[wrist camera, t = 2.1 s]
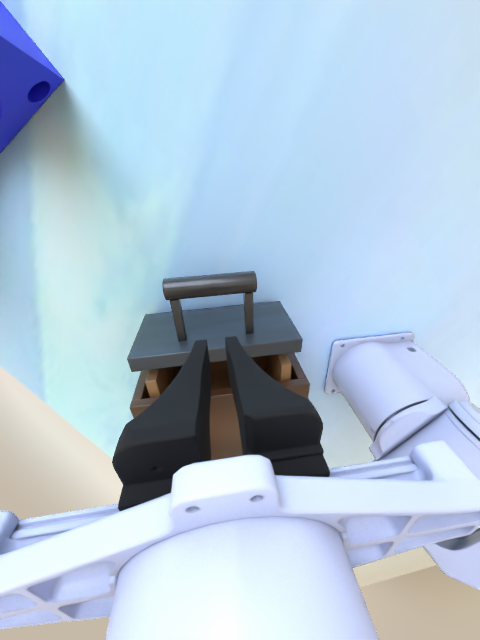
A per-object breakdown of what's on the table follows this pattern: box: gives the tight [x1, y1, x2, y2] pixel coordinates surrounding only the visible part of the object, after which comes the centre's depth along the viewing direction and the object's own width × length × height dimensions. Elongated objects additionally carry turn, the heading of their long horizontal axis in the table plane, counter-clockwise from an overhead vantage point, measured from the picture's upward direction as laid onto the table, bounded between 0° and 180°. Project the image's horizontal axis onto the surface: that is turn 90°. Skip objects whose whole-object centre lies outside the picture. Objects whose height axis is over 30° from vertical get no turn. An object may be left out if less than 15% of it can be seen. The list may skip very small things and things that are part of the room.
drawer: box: [127, 271, 302, 398], centre depth 22 cm, size 17×12×6 cm
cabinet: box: [130, 353, 310, 460], centre depth 25 cm, size 13×13×8 cm
